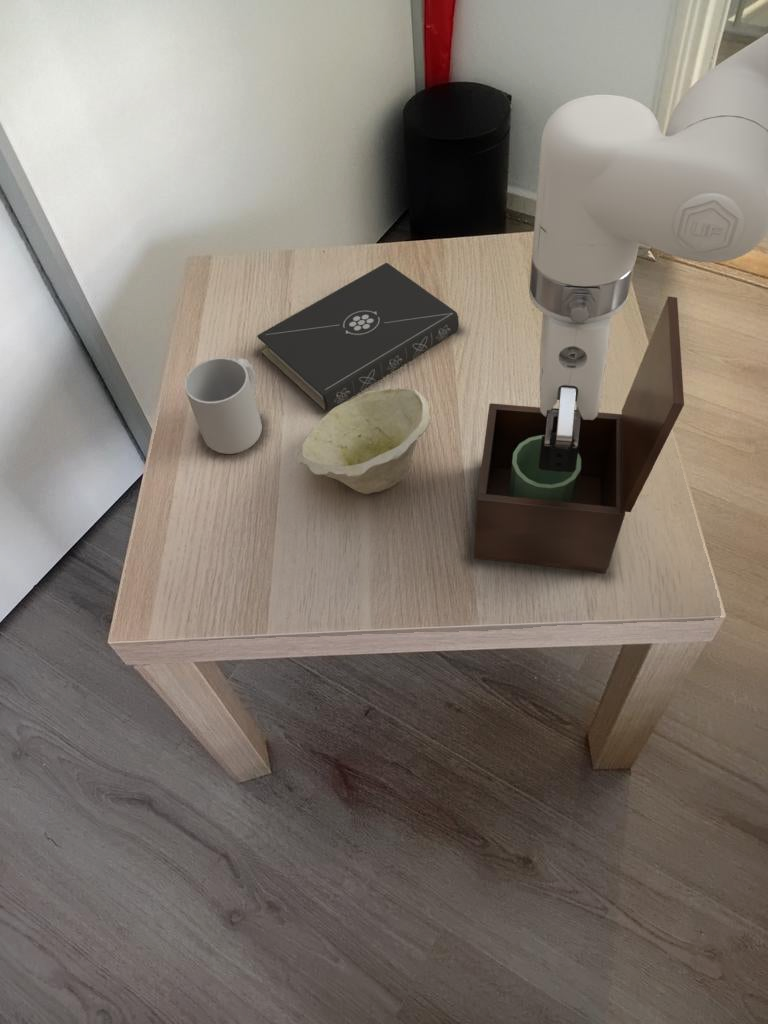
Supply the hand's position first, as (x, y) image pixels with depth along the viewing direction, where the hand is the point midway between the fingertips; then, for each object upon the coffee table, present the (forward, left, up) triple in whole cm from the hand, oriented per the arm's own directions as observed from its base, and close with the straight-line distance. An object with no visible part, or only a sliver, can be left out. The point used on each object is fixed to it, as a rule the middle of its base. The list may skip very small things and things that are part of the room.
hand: (558, 428), depth 73 cm
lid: (-7, 0, +4) cm, 8 cm away
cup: (+37, -9, -15) cm, 41 cm away
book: (+25, -25, -15) cm, 38 cm away
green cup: (+1, 0, -14) cm, 14 cm away
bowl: (+20, -4, -15) cm, 25 cm away
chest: (0, 0, -14) cm, 14 cm away
